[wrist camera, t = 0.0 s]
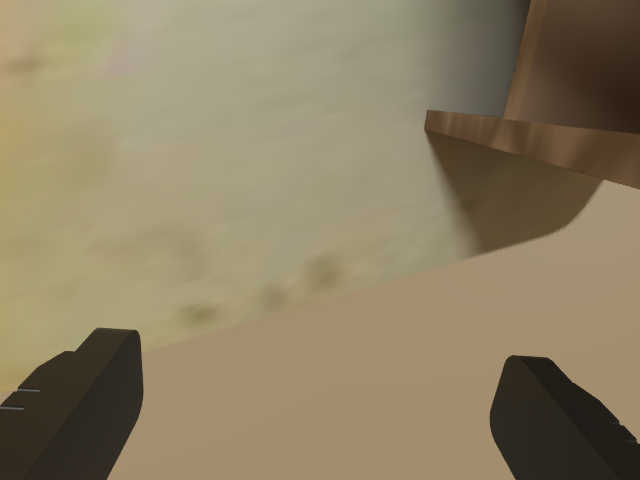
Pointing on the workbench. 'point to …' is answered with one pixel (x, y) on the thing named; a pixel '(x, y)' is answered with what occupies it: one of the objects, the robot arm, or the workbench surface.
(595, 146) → the shelf
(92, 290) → the workbench surface
